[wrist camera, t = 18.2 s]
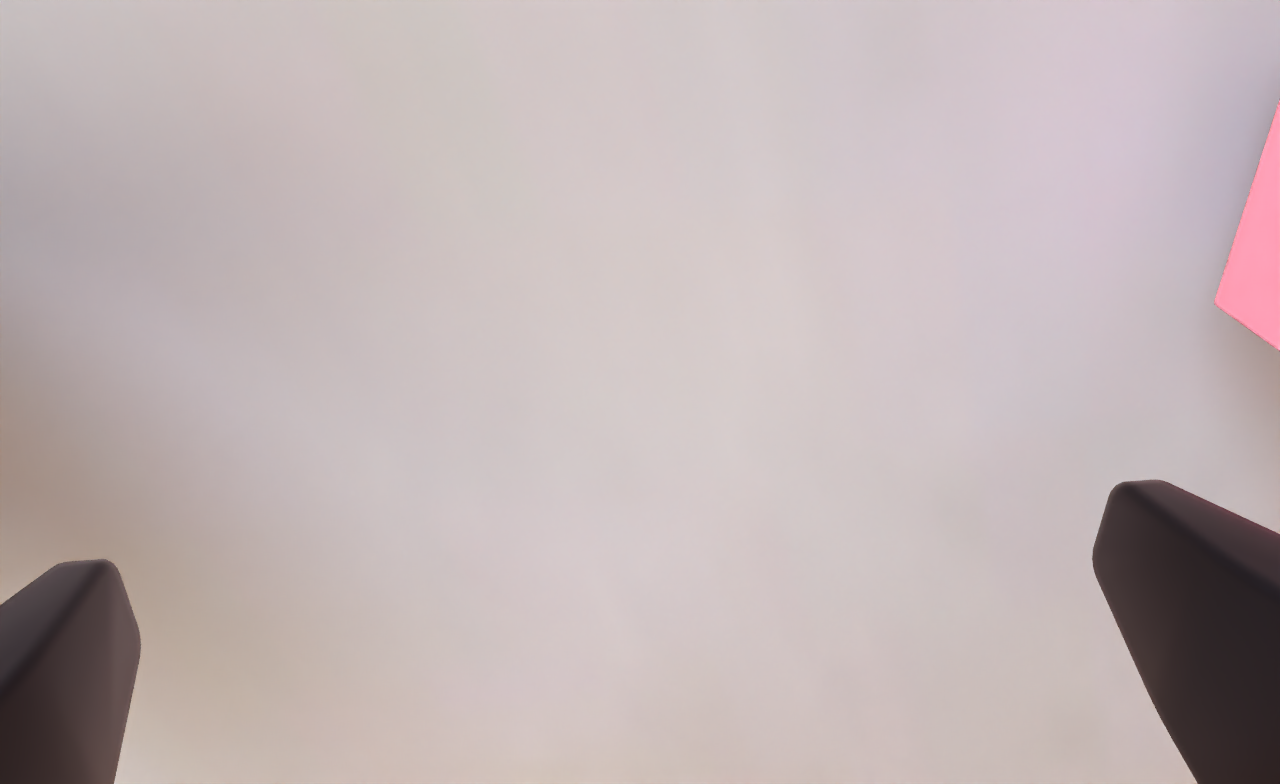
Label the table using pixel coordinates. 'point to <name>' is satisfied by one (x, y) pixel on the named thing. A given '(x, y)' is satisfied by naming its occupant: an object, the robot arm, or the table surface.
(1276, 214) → the pink tunnel block
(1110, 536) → the robot arm
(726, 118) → the table surface
